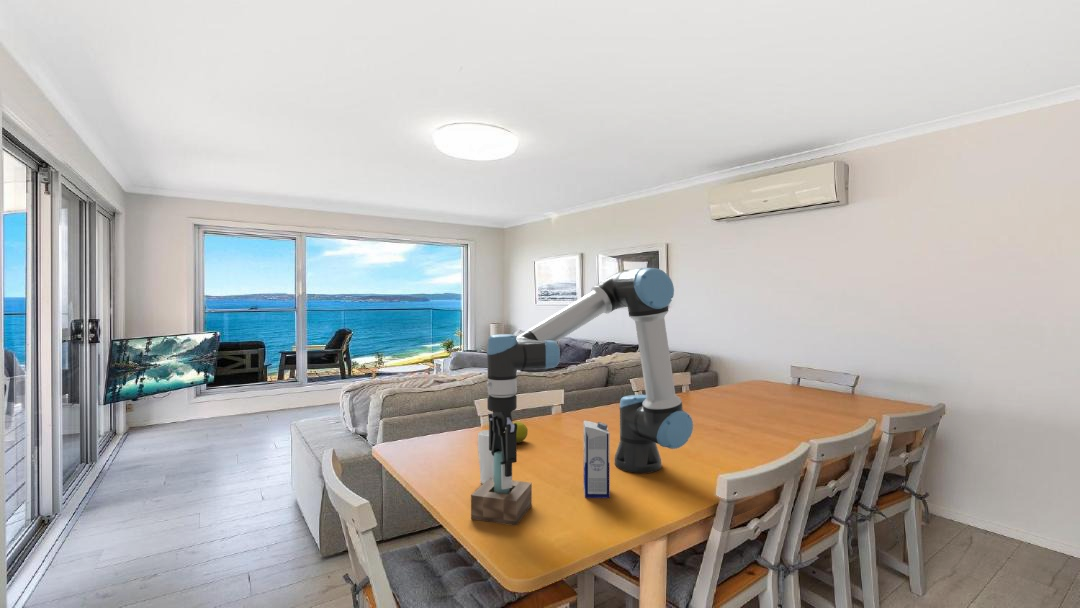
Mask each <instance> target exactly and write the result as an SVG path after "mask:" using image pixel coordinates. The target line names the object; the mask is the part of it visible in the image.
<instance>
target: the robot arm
mask: <svg viewBox="0 0 1080 608" xmlns="http://www.w3.org/2000/svg"><path fill="white" fill-rule="evenodd" d="M674 287H675V286H674V284H673V280H672V279H671V277H670V275H668V273H666V272H665V271H664V270H662V269H660V268H658V267H657V268H656V267H655V268H653V267H641V268H636V269H635V268H634V269H625V270H624V269H623V270H621V271H618V272H616V273H615V274H612V275H610V276H609V277H607V278H606V279H603V281H600V282H599V283H597V284H596V285H594V286H592V287H591V289H590V292H589V293H587V294H585V295H583V296H582V297H580V298H579V299H577V300H576V301H574V302H572V303H570V304H569V305H568V306H565V307H564V308H562V309H560V310H558V311H557V312H556V313H554V314H553V315H551V316H549V317H547V318H546V319H544V320H543V321H541V322H539V323H538V324H536V325H534V326H532V327H531V328H529V329H527V330H526V331H524V332H522V333H520V334H519V335H515V334H510V333H509V334H508V333H500V334H499V333H498V334H492V335H490V336H488V338H487V344H486V345H487V348H486V350H487V351H486V357H487V358H486V359H487V360H486V361H487V382H486V383H485V386H486V387H487V393H488V395H487V401H486V402H487V408H486V409H487V410H488V411H489V412H492V413H488V415H487V419H488V430H489V450H490V451H491V453H492V455H493V481H494V453H495V452H499V451H502V457H503V462H500V464H501V489H502V490H503V489H508V488H512V480H513V464H514V463H517V460H518V459H517V455H518V454H517V449H518V448H517V443H516V432H517V423H514V424H513V423H512V422H513V418H512V413H513V411H515V410H516V409H517V407H518V406H517V405H518V404H517V395H516V393H517V391H518V388H517V387H518V386H517V385H518V383H517V382H518V377H517V374H518V371H525V370H526V371H527V370H529V371H530V370H544V369H545V370H547V369H553V368H556V367H557V366H558V365H559V364H560V360H561V349H560V346H559V344H558V343H557V342H559V341H560V340H563V339H564V338H565V337H567V336H568V335H570V334H572V333H573V332H575V331H577V330H578V329H580V328H581V327H583V326H584V325H586V324H588V323H589V322H591V321H593V320H594V319H596V318H598V317H599V316H600V315H603V314H608V315H609V314H610V313H612V312H613V311H615V310H617V309H621V308H627V311H628V316H629V318H630V319H632V320H633V321H634V323H635V329H636V335H637V336H636V337H637V342H638V349H639V356H640V363H641V370H642V377H643V383H644V384H643V385H644V389H645V394H631V395H625V396H623V397H621V399H620V400H619V443H618V445H617V449H616V452H615V454H614V466H616V468H618V469H619V470H622V471H625V472H628V473H629V472H630V473H635V474H651V473H655V472H657V471H659V470H661V469H662V458H661V456H660V451H659V449H658V446H657V445H659V446H660V447H662V448H668V449H671V450H677V449H680V448H682V447H683V446H685V444H687V442H688V441H689V439H690V438H691V437H692V434H693V431H694V421H693V418H692V416H691V415H690V414H689V413H688V412H687V411H684V409H683V401H682V399H681V397H679V396H678V395H677V394H676V389H675V383H674V376H673V370H672V369H673V368H672V362H671V355H670V348H669V341H668V335H667V328H666V322H665V321H666V320H665V317H666V315H667V314H668V313H669V312H670V310H669V305H670V304H671V302H672V298H674V294H675V293H674V292H675V288H674Z"/></svg>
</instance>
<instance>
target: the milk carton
mask: <svg viewBox="0 0 1080 608" xmlns="http://www.w3.org/2000/svg"><path fill="white" fill-rule="evenodd" d="M610 436H611V435H610V431H609V428H608V424H606V423H604V422H600V421H599V422H593V421H588V420H583V492H584V498H585V499H588V498H589V499H610Z"/></svg>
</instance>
